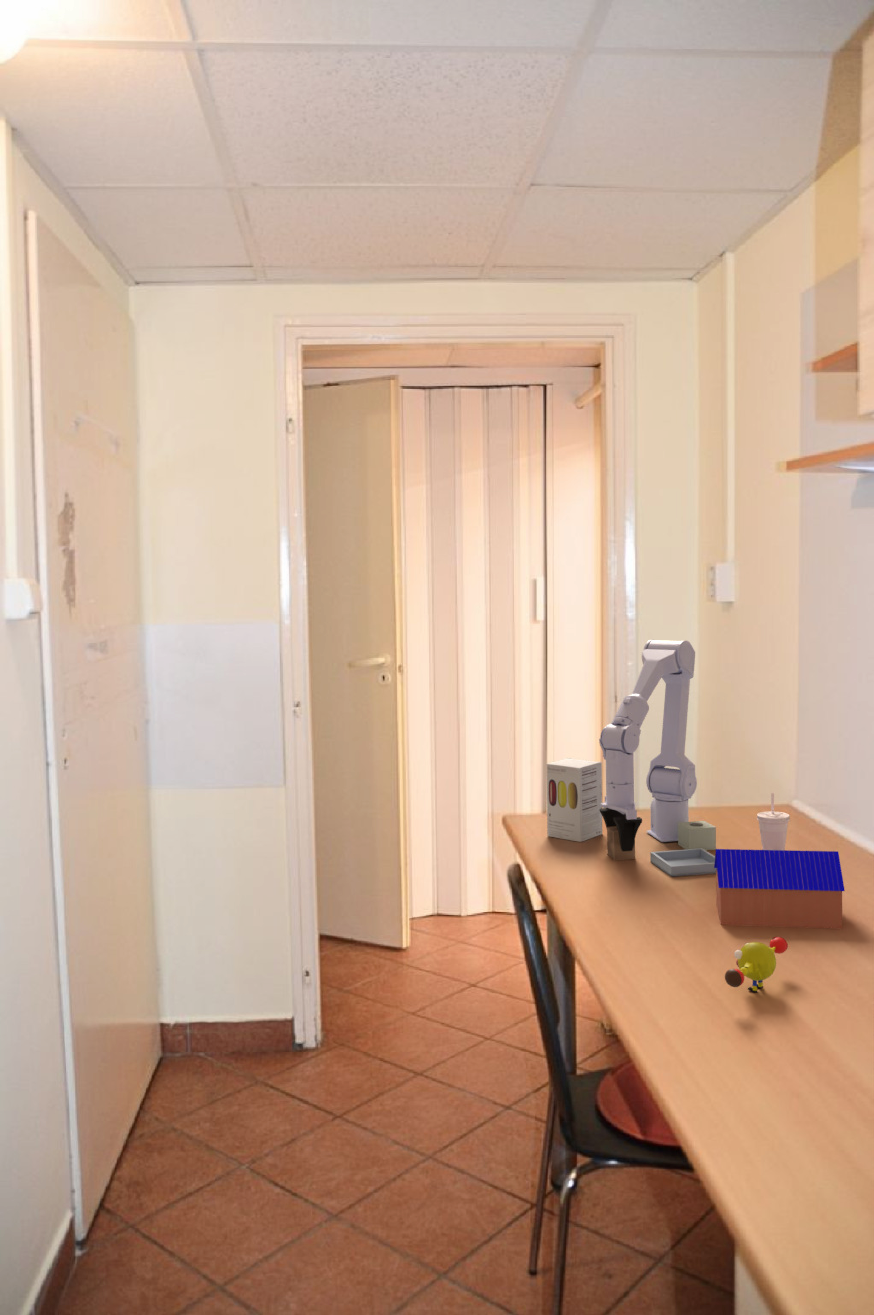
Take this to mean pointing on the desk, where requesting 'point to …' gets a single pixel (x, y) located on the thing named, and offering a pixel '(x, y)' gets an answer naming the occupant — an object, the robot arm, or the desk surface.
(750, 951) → the toy figure
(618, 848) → the block
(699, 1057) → the desk surface
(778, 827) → the smoothie
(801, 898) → the house
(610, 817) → the robot arm
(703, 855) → the tray
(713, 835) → the oversize block
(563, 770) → the supplement box
